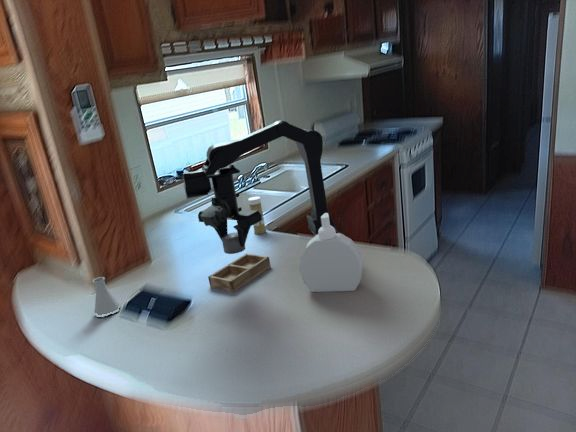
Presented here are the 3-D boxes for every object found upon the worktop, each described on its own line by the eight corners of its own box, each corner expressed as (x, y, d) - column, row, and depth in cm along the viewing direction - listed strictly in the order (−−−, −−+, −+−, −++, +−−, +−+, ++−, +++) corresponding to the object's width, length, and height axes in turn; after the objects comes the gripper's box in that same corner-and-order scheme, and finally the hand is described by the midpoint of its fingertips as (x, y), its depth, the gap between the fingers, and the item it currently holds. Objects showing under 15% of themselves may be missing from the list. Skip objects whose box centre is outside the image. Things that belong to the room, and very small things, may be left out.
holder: (270, 266, 144) (268, 256, 143) (233, 292, 131) (231, 281, 130) (248, 263, 149) (246, 253, 148) (210, 287, 136) (208, 276, 135)
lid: (249, 246, 132) (247, 233, 131) (235, 255, 127) (233, 240, 126) (233, 244, 135) (231, 231, 134) (219, 252, 131) (217, 238, 130)
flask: (95, 321, 126) (85, 288, 123) (93, 311, 132) (83, 279, 129) (123, 312, 129) (113, 279, 126) (119, 302, 135) (110, 271, 132)
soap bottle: (365, 281, 125) (357, 210, 119) (363, 291, 120) (355, 217, 114) (306, 283, 129) (296, 215, 123) (302, 292, 124) (292, 222, 118)
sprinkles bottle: (268, 231, 175) (262, 197, 171) (257, 235, 172) (251, 200, 168) (262, 229, 178) (256, 195, 174) (251, 232, 176) (245, 198, 172)
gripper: (178, 198, 126) (189, 252, 130) (231, 202, 115) (241, 260, 120) (207, 187, 134) (217, 238, 139) (258, 189, 123) (267, 245, 128)
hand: (234, 245), depth 131 cm, fingers closed on lid, 6 cm apart
